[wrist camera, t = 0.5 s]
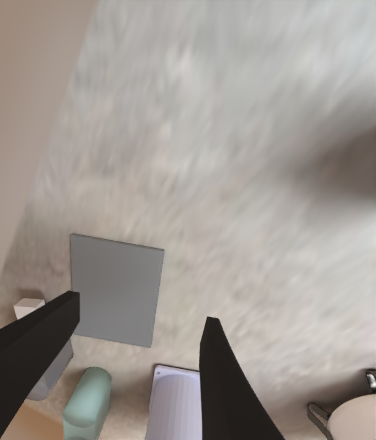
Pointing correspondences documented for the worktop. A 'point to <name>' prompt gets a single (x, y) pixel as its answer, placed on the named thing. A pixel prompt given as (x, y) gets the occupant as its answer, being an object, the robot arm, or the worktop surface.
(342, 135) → the worktop surface
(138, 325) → the mat
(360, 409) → the coffee press
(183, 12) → the worktop surface
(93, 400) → the teal plug
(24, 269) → the worktop surface
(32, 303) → the plug
